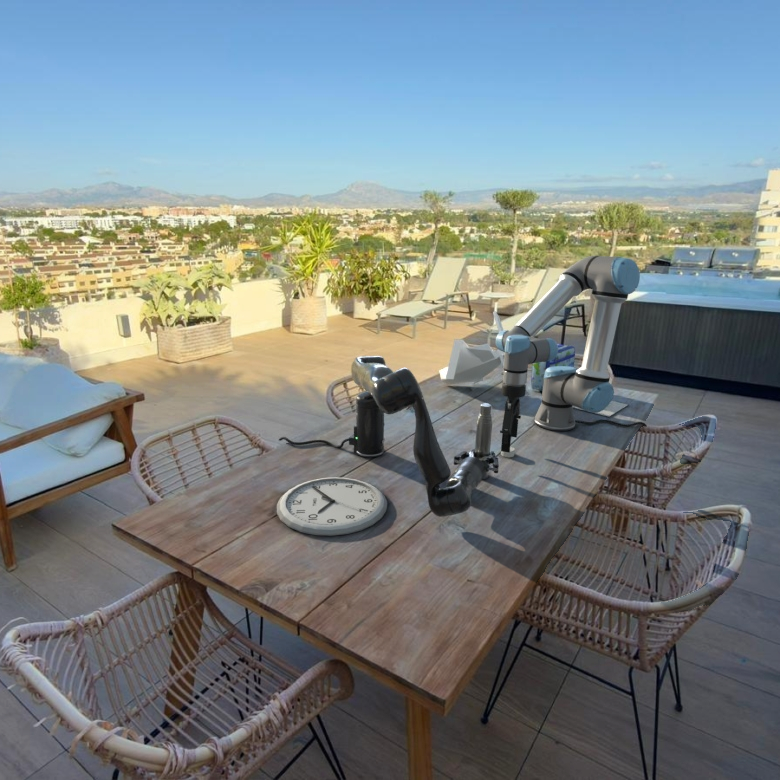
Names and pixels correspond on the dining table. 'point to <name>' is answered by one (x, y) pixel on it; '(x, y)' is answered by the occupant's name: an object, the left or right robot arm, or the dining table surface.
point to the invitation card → (610, 408)
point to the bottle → (483, 433)
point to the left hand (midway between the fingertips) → (484, 452)
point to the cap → (508, 453)
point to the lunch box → (552, 365)
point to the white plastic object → (473, 361)
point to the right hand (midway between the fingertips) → (509, 443)
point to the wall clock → (331, 506)
